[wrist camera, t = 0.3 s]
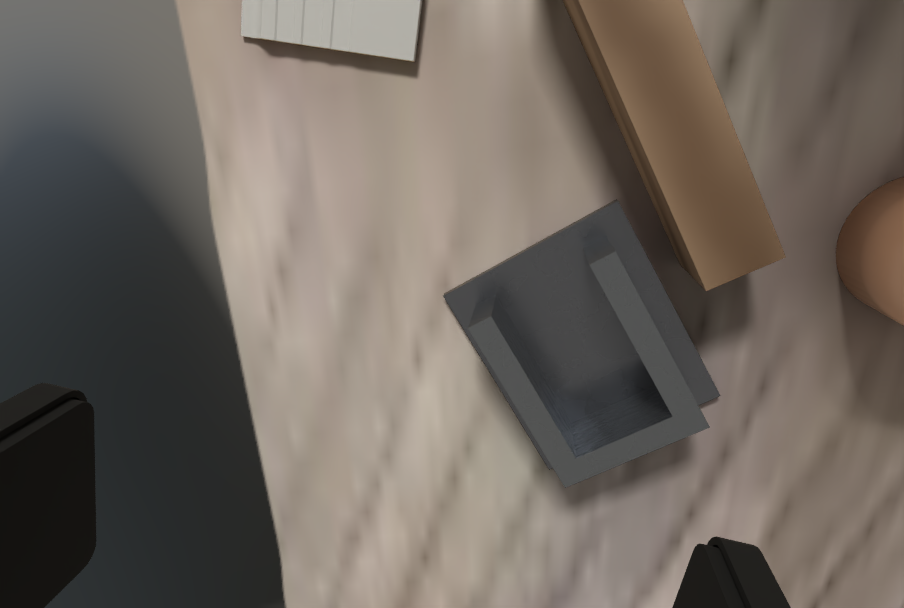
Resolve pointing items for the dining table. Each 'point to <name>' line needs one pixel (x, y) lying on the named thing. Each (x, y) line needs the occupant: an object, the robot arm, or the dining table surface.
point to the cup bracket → (587, 347)
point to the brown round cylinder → (875, 250)
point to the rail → (678, 135)
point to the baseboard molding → (337, 25)
